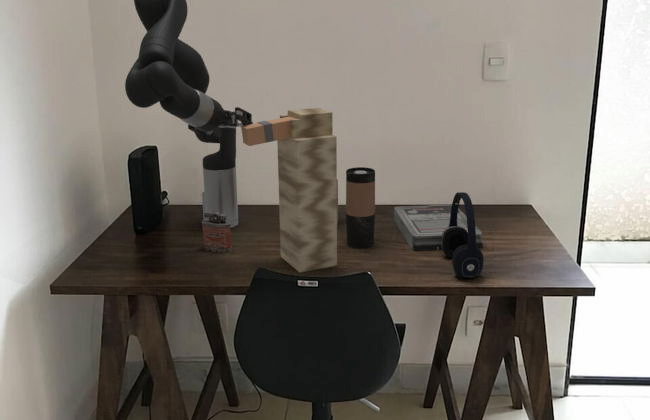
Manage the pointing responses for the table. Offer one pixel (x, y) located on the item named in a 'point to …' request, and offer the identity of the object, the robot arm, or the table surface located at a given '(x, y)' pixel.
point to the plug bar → (267, 131)
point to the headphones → (462, 241)
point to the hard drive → (428, 225)
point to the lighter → (216, 232)
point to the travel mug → (360, 207)
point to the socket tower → (308, 191)
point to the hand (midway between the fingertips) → (235, 130)
